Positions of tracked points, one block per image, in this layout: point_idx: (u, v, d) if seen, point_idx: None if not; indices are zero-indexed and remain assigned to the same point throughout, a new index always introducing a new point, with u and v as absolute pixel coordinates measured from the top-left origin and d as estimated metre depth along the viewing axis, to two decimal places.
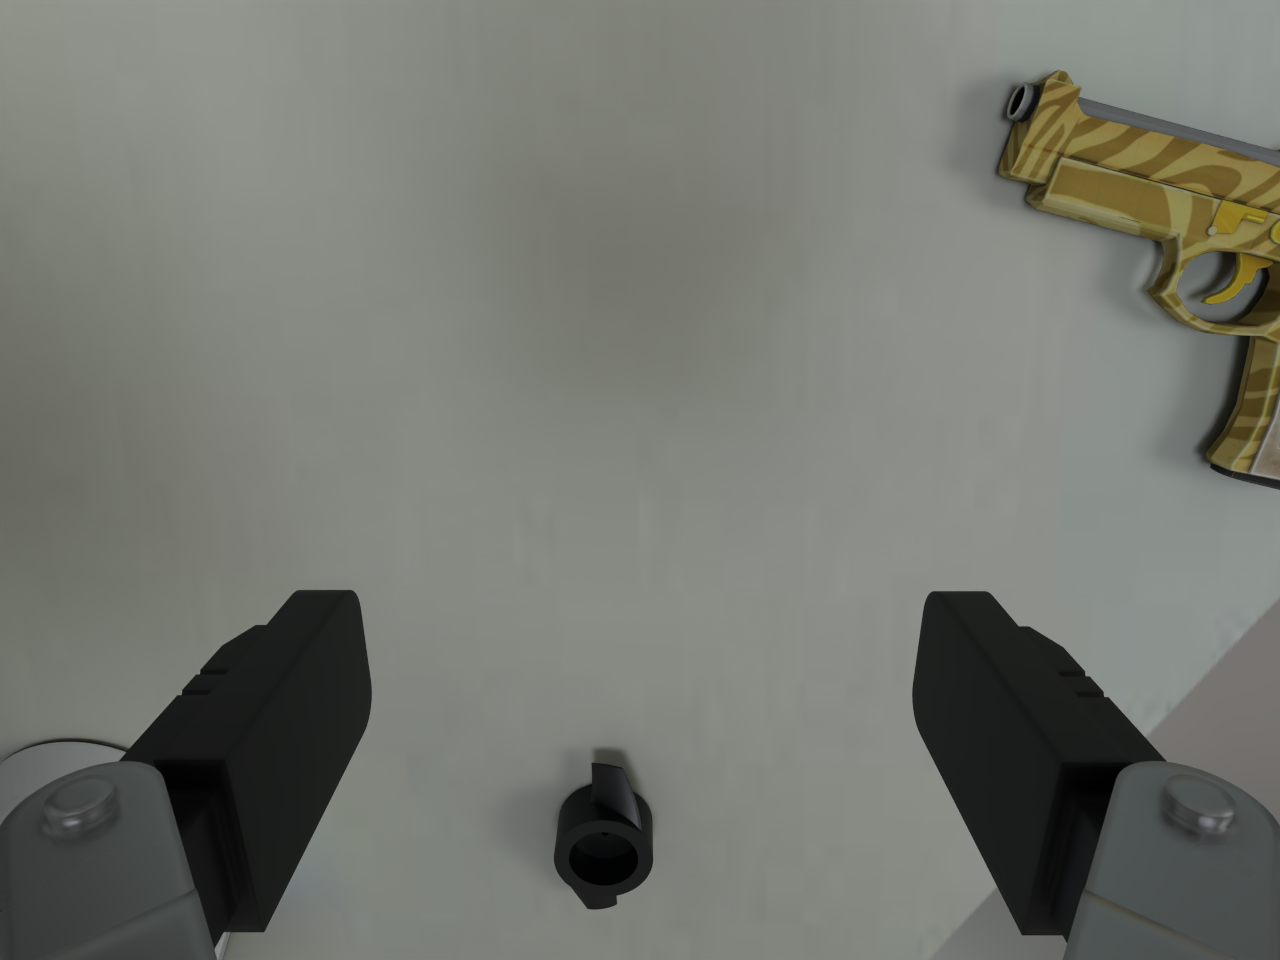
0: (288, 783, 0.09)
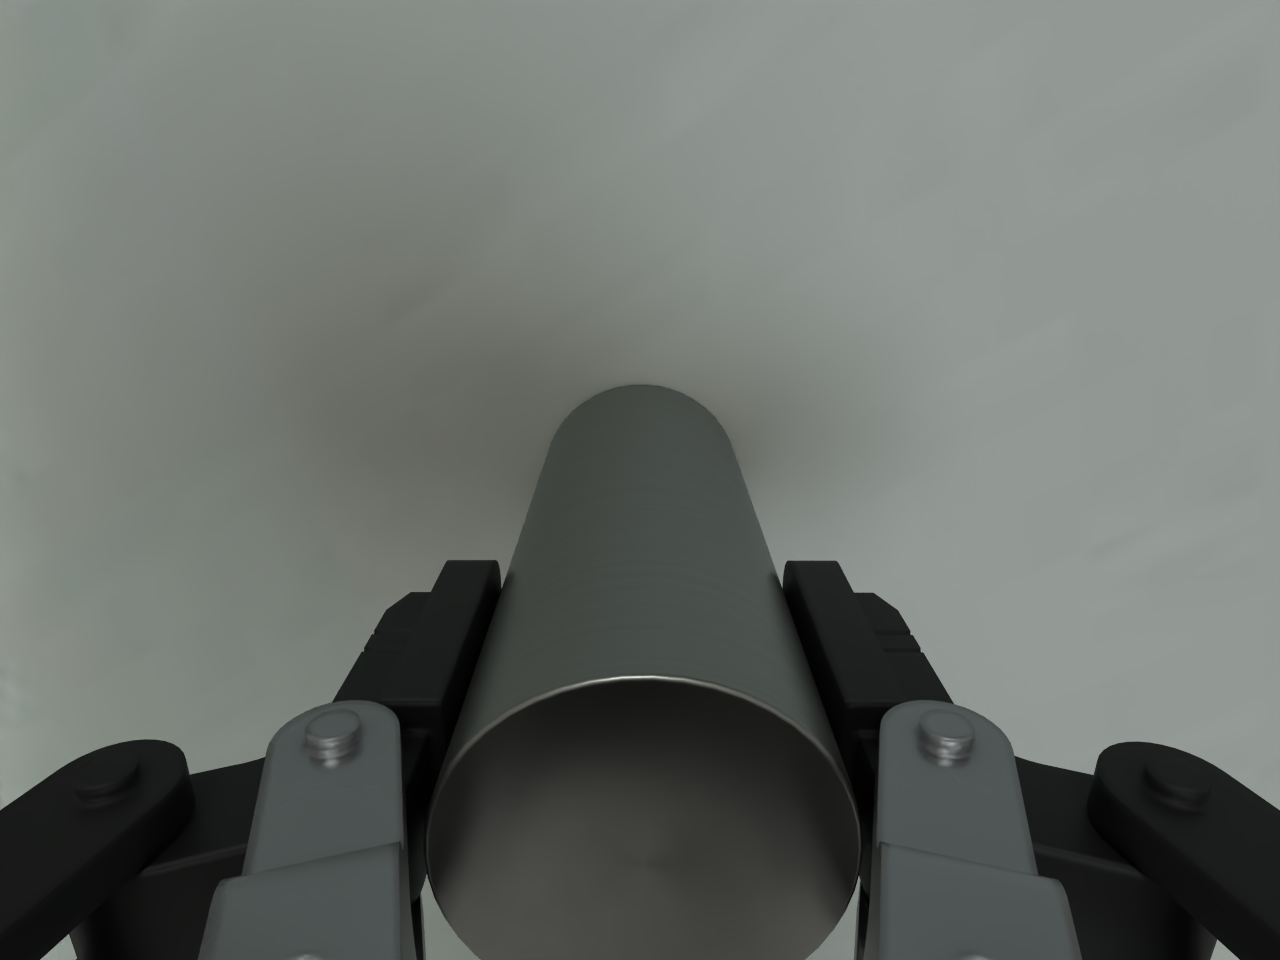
0: None
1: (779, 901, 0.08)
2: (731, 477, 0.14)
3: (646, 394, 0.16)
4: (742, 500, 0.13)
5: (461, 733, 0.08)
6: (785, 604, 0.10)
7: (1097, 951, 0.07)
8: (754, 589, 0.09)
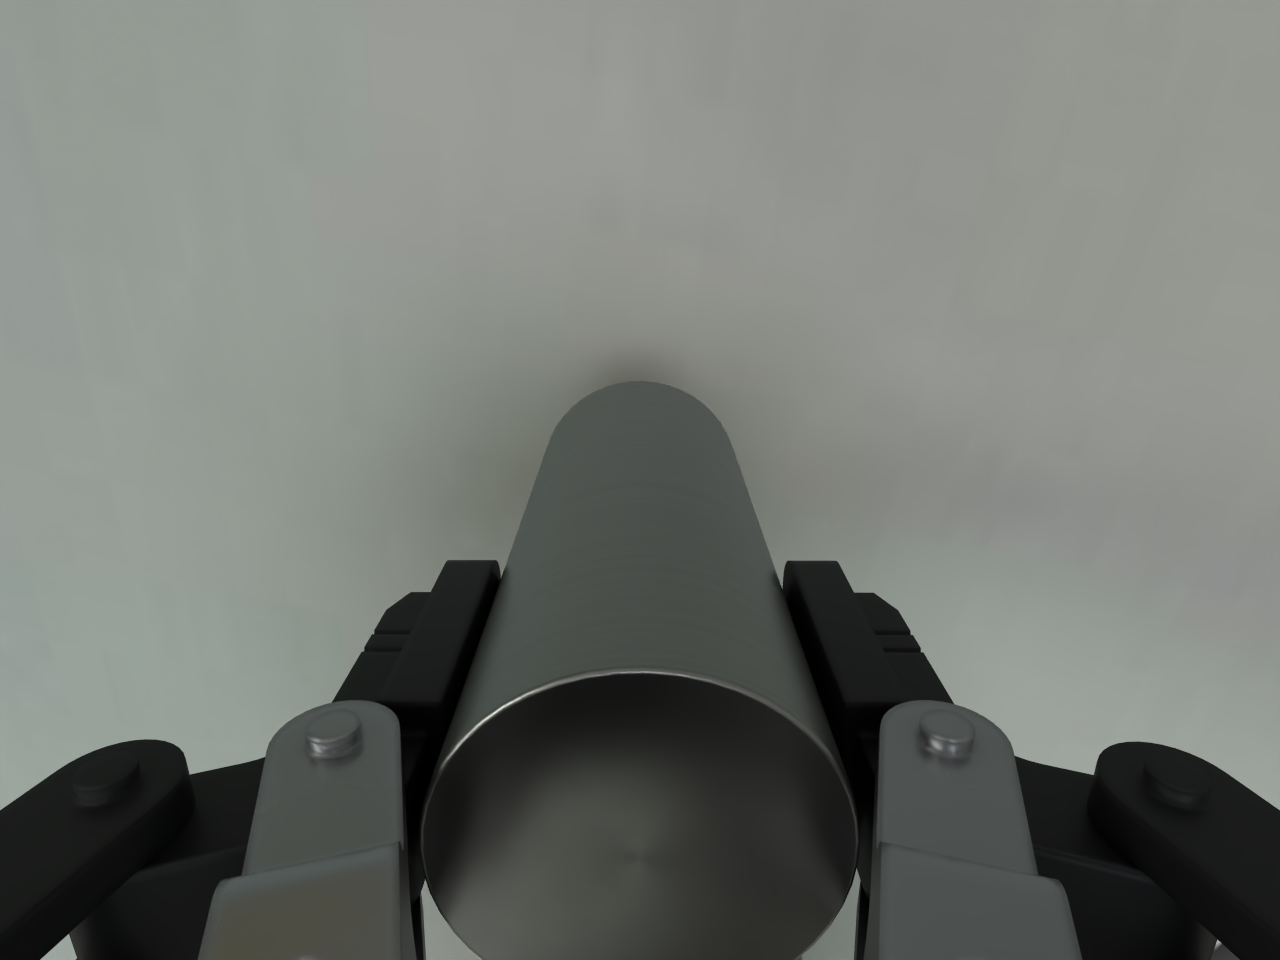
0: None
1: (776, 896, 0.08)
2: (729, 473, 0.14)
3: (644, 390, 0.16)
4: (740, 496, 0.13)
5: (456, 727, 0.08)
6: (783, 599, 0.10)
7: (1097, 951, 0.07)
8: (751, 583, 0.09)
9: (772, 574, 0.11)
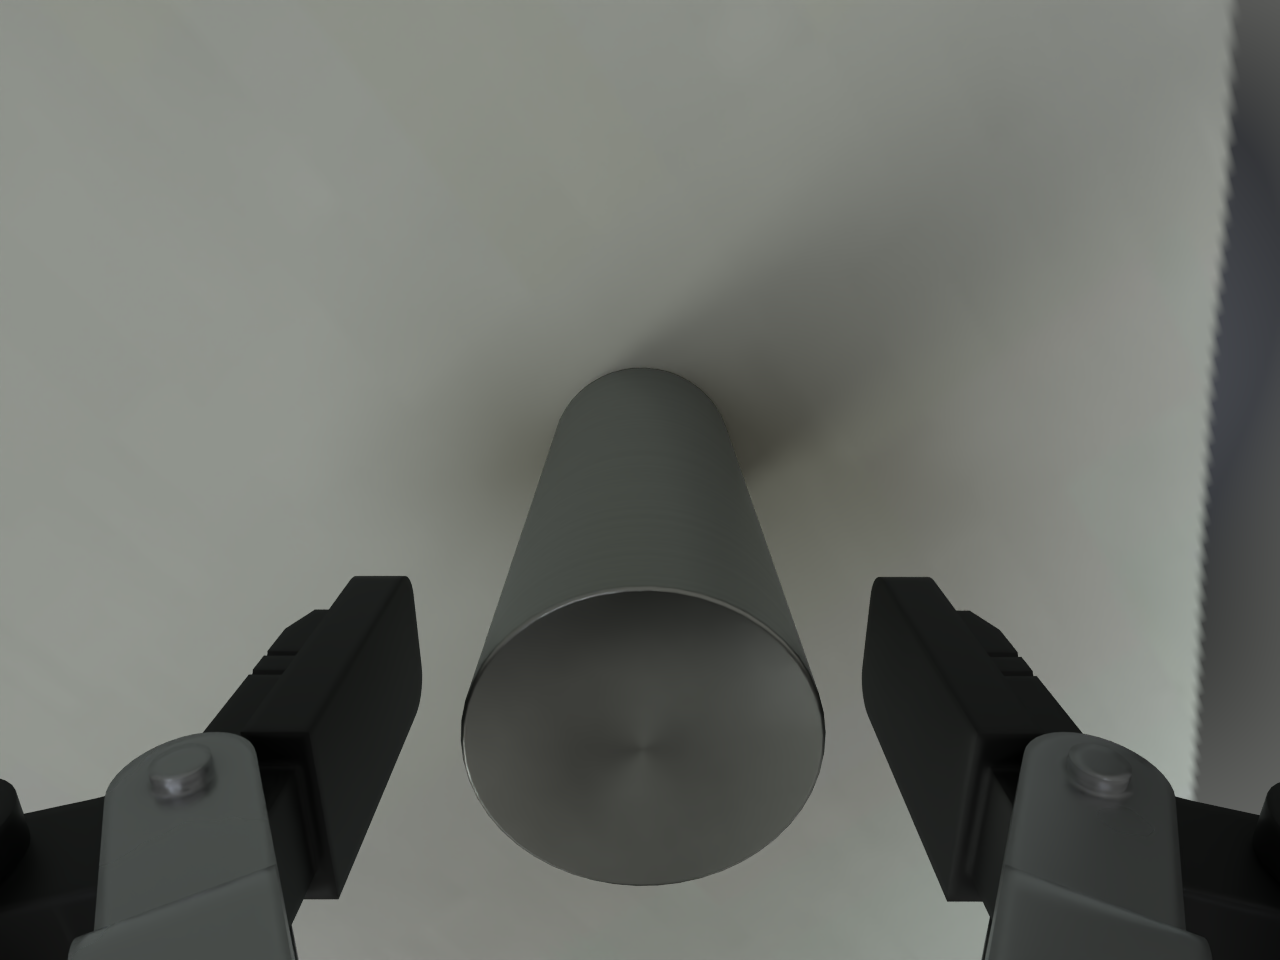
0: (356, 759, 0.09)
1: (755, 783, 0.10)
2: (722, 447, 0.15)
3: (646, 376, 0.18)
4: (731, 466, 0.14)
5: (492, 641, 0.09)
6: (766, 549, 0.12)
7: None
8: (738, 531, 0.11)
9: (757, 529, 0.12)
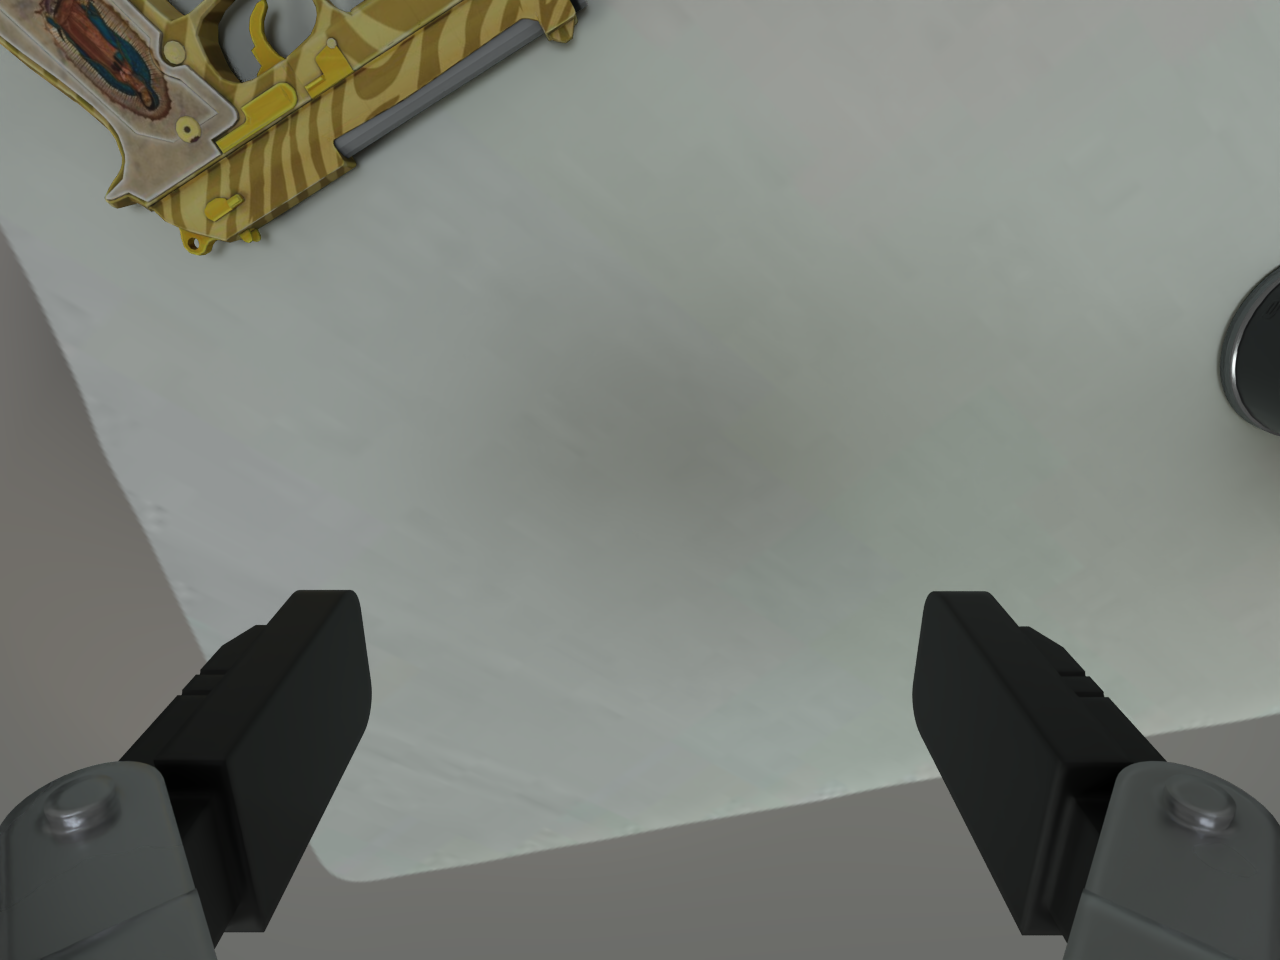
0: (288, 784, 0.09)
1: None
2: None
3: None
4: None
5: None
6: None
7: None
8: None
9: None
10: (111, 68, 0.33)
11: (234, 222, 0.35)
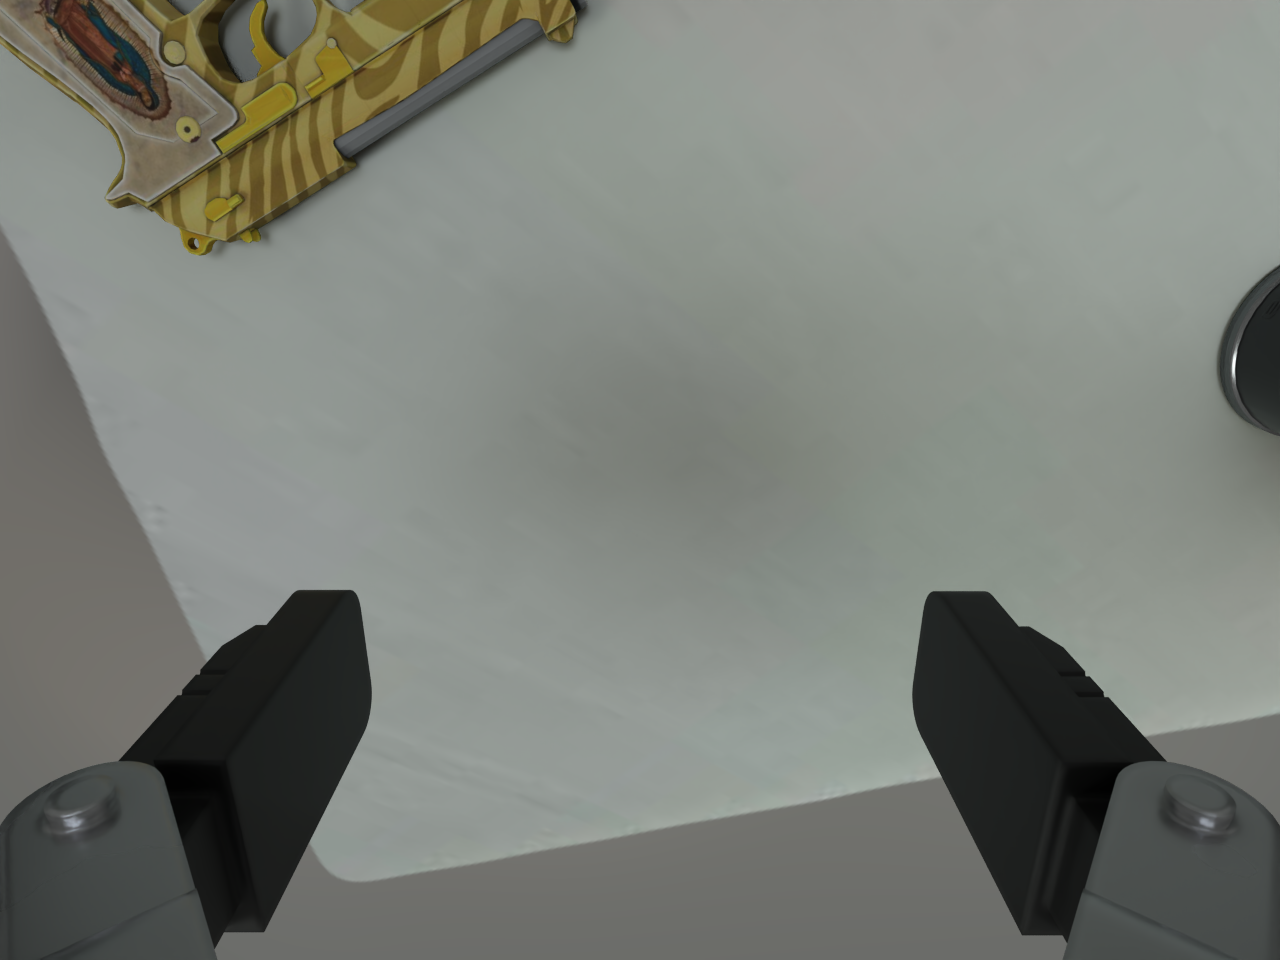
0: (288, 784, 0.09)
1: None
2: None
3: None
4: None
5: None
6: None
7: None
8: None
9: None
10: (111, 68, 0.33)
11: (234, 222, 0.35)
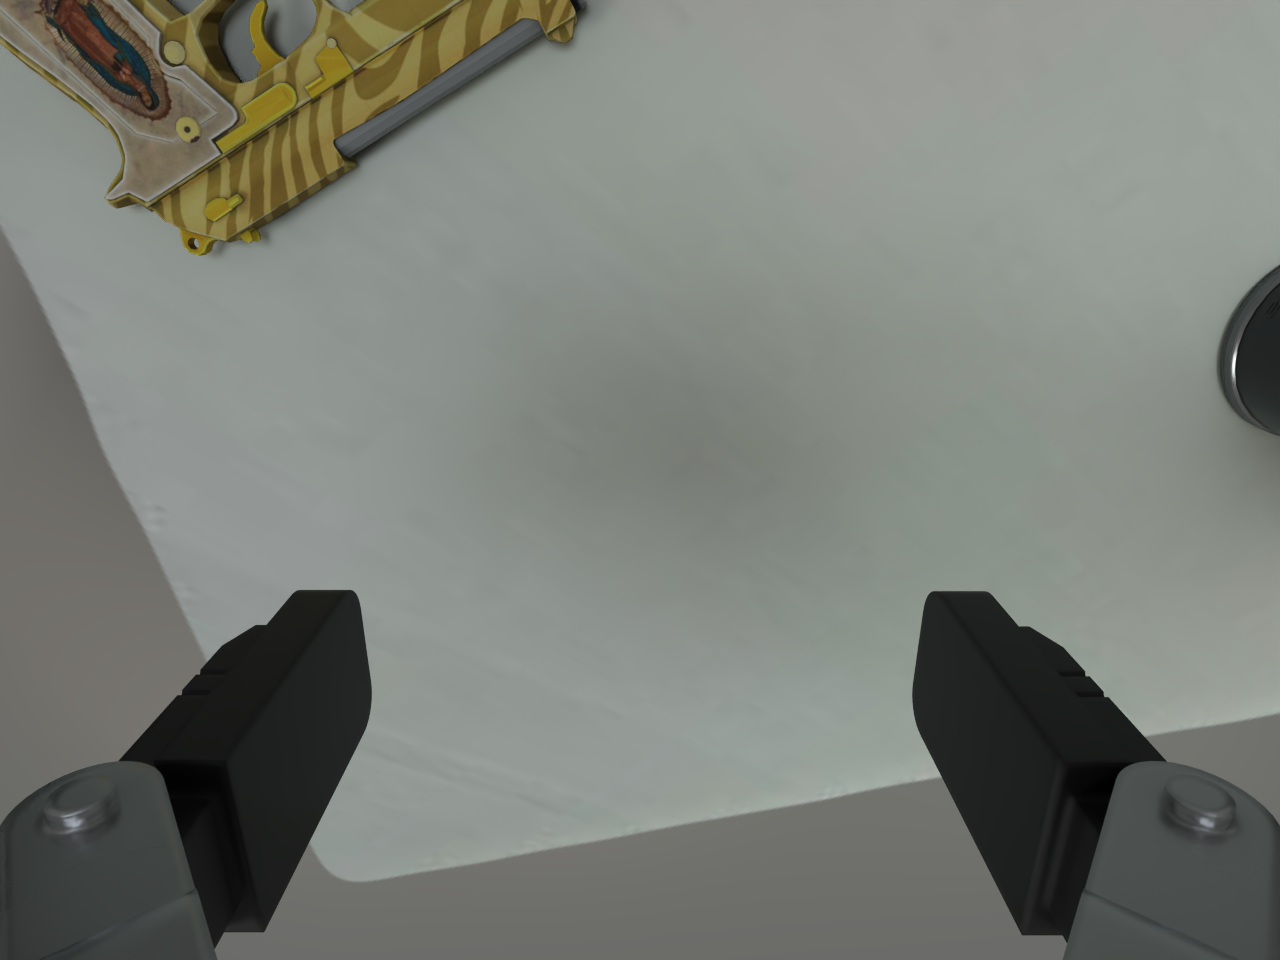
0: (288, 784, 0.09)
1: None
2: None
3: None
4: None
5: None
6: None
7: None
8: None
9: None
10: (111, 68, 0.33)
11: (234, 222, 0.35)
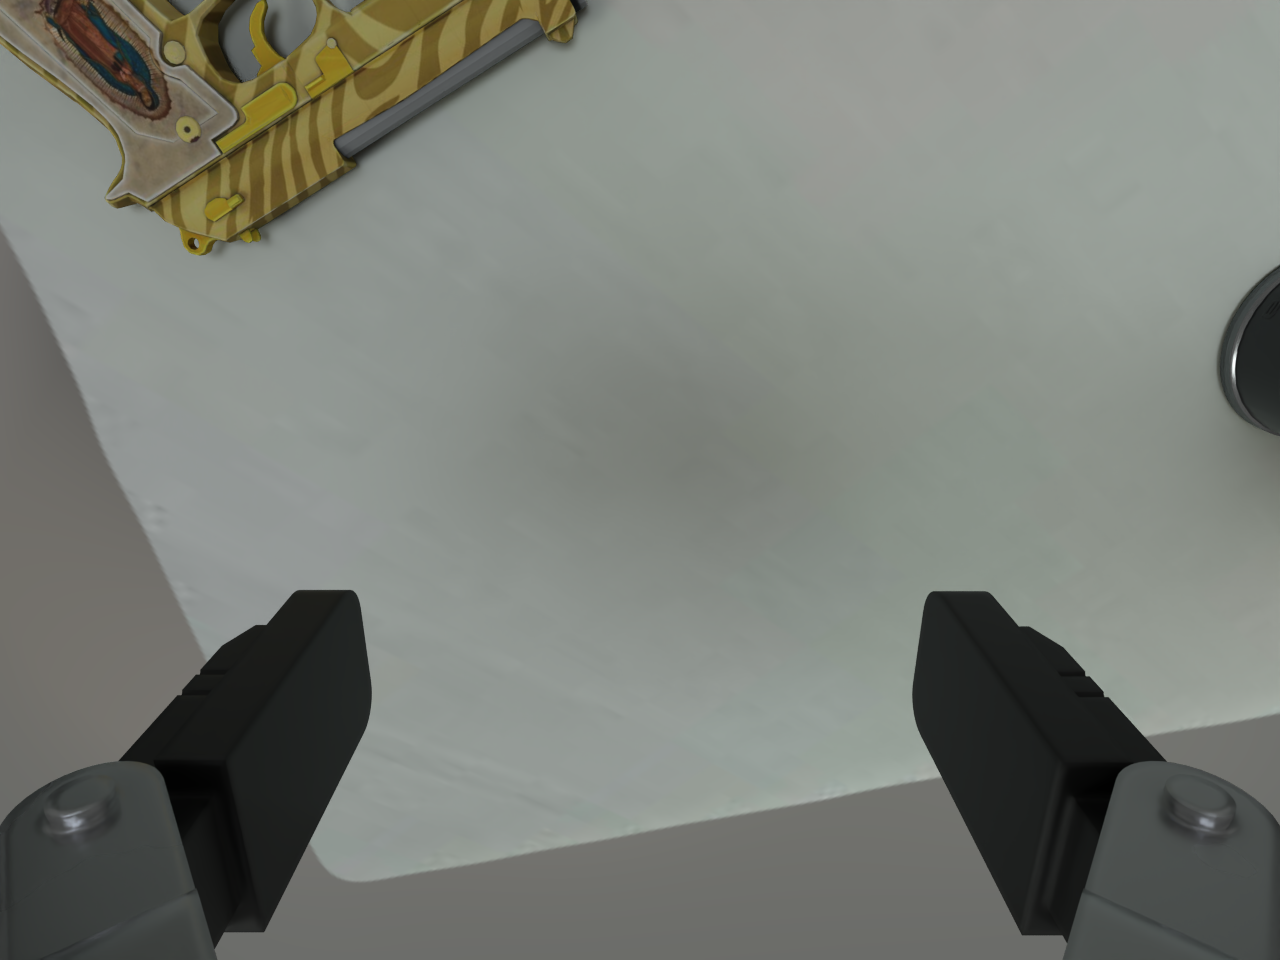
0: (288, 784, 0.09)
1: None
2: None
3: None
4: None
5: None
6: None
7: None
8: None
9: None
10: (111, 68, 0.33)
11: (234, 222, 0.35)
